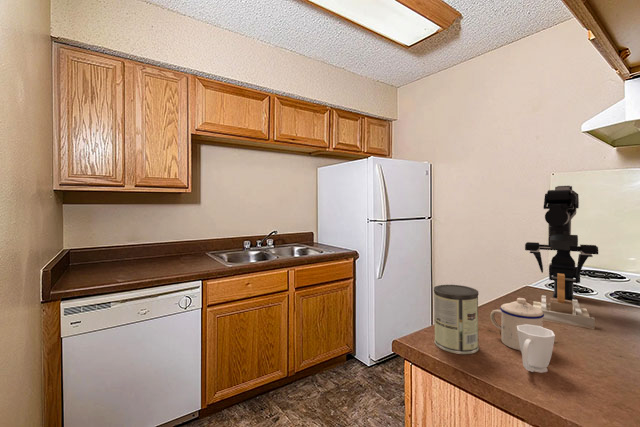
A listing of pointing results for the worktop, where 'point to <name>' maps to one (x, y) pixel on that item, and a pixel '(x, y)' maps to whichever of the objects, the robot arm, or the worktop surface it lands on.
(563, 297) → the tan wooden block
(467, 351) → the coffee can
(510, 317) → the teacup with lid
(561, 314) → the lane tray
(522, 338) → the cup
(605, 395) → the worktop surface
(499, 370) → the worktop surface
